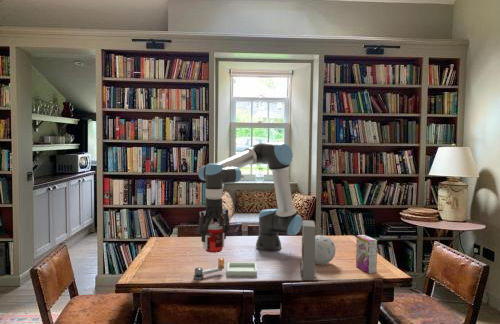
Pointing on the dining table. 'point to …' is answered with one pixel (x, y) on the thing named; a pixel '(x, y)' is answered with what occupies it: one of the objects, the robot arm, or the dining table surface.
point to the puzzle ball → (323, 250)
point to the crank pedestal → (198, 277)
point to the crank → (201, 272)
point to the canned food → (214, 238)
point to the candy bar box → (366, 253)
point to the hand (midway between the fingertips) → (213, 247)
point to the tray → (241, 269)
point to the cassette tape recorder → (308, 250)
